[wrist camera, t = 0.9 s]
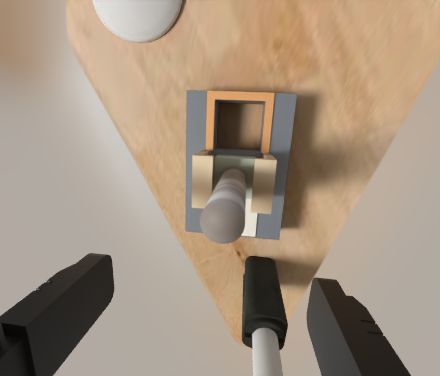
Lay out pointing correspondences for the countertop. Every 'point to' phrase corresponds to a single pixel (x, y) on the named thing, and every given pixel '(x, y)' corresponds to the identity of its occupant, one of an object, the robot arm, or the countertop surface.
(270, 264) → the candle
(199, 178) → the wooden brackets
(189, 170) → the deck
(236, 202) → the post on square base
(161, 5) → the candlestick
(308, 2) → the countertop surface
